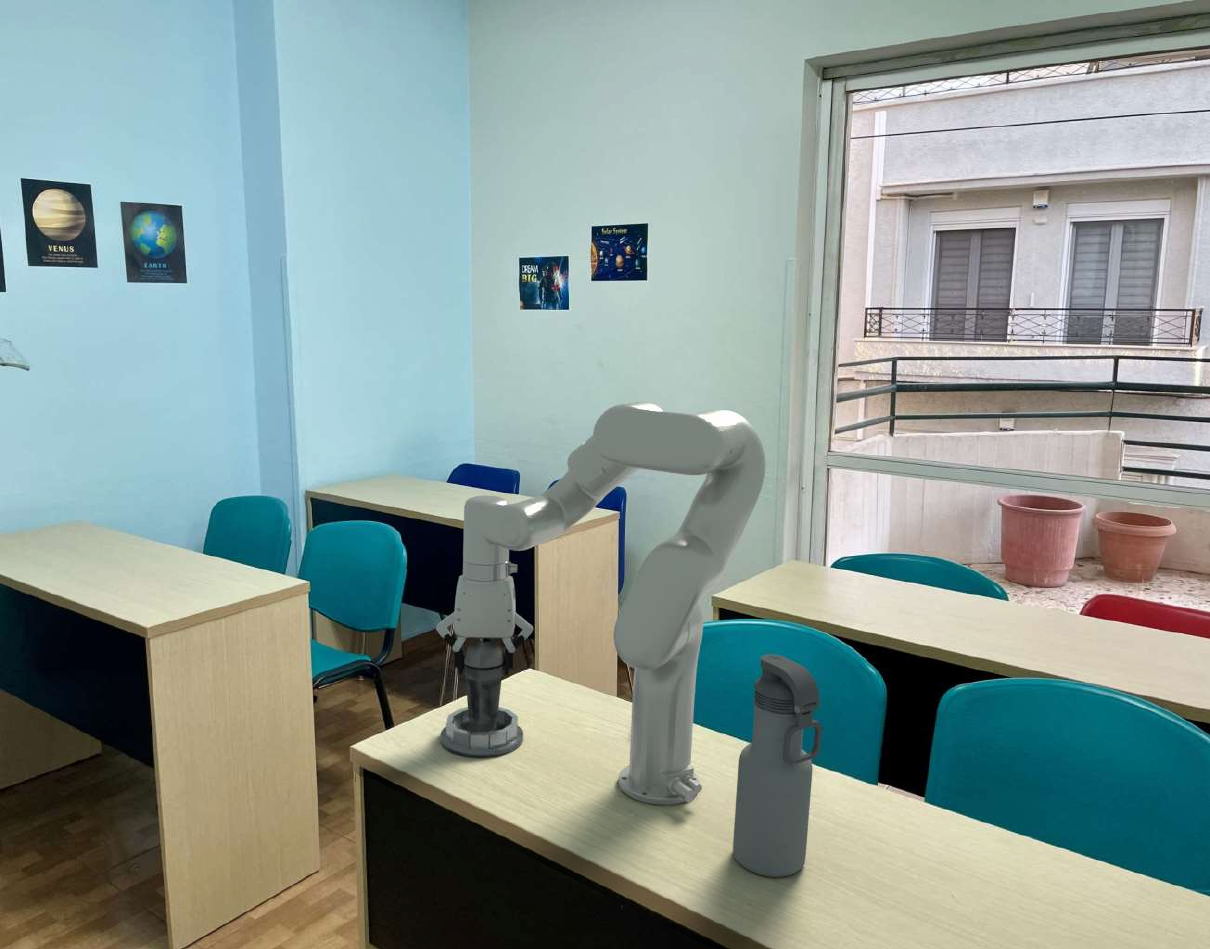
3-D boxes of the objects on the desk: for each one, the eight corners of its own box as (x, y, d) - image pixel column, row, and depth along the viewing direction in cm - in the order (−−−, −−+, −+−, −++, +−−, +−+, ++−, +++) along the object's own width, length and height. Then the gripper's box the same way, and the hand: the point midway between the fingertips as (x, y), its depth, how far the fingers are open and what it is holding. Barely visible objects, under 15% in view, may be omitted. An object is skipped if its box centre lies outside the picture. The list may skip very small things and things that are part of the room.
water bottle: (822, 868, 125) (839, 669, 121) (768, 889, 120) (783, 683, 116) (770, 832, 134) (784, 645, 129) (717, 851, 128) (730, 657, 124)
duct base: (537, 746, 158) (538, 727, 157) (461, 764, 150) (462, 744, 150) (500, 716, 169) (500, 697, 169) (427, 731, 162) (427, 712, 161)
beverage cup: (513, 726, 160) (515, 614, 157) (480, 739, 154) (482, 623, 151) (485, 713, 164) (487, 604, 161) (452, 725, 159) (454, 613, 156)
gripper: (538, 565, 159) (535, 664, 162) (435, 563, 158) (434, 663, 161) (537, 577, 152) (534, 681, 155) (430, 575, 151) (429, 679, 154)
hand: (483, 671), depth 158 cm, fingers closed on beverage cup, 7 cm apart
